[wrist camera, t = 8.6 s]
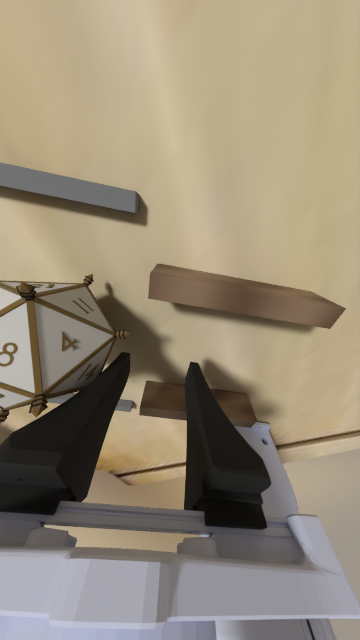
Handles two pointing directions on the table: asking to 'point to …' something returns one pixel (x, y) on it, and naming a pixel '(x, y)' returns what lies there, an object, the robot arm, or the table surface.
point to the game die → (50, 342)
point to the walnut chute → (236, 299)
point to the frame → (74, 192)
